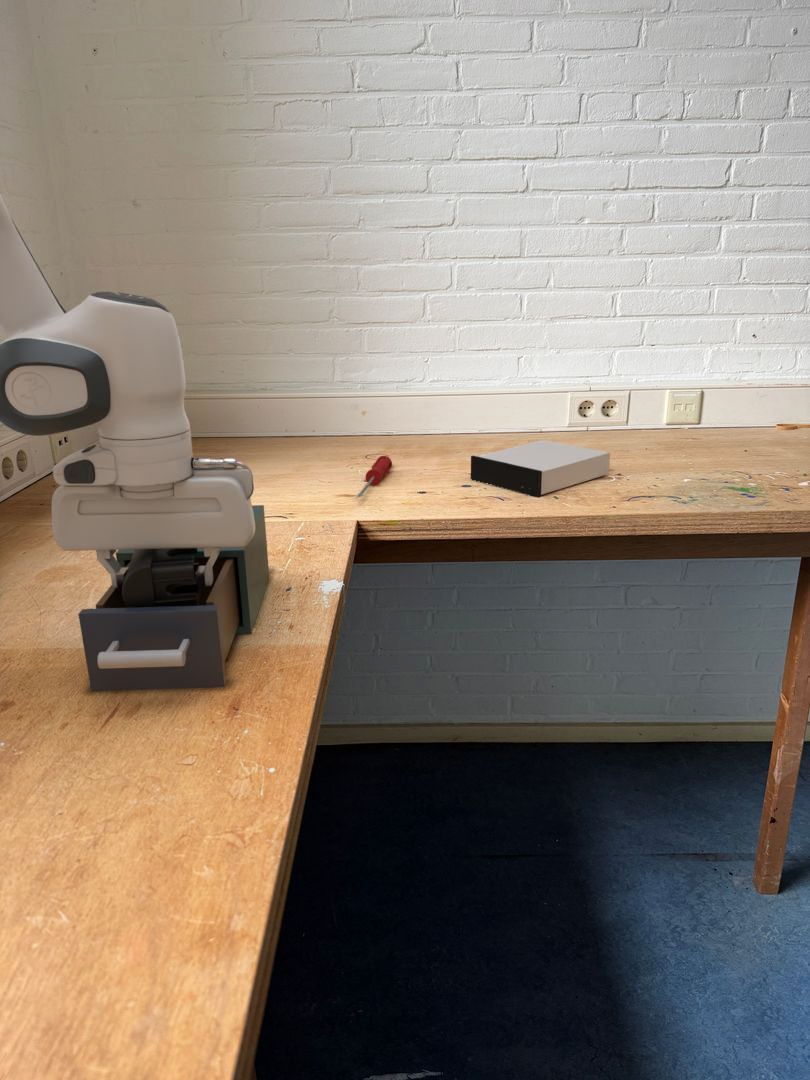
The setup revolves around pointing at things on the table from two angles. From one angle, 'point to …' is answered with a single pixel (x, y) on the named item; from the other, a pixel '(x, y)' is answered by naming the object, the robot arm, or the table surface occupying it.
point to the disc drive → (539, 467)
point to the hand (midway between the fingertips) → (163, 585)
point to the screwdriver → (377, 472)
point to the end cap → (161, 579)
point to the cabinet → (239, 570)
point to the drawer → (163, 638)
